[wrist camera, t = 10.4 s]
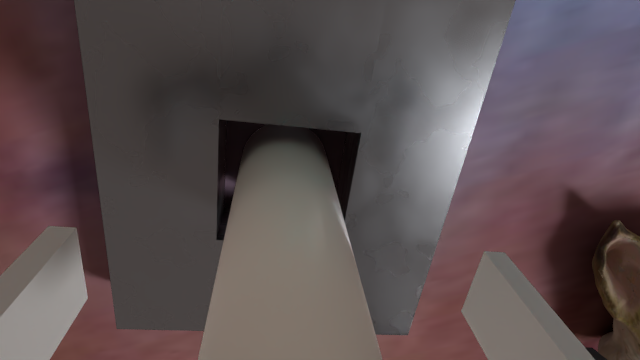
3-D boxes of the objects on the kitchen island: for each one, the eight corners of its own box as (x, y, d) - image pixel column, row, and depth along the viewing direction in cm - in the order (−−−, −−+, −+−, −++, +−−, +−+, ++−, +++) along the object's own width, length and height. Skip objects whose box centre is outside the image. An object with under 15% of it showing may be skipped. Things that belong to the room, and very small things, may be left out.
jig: (394, 298, 25) (407, 335, 23) (135, 288, 23) (116, 328, 20) (480, -5, 18) (516, -3, 15) (101, -64, 15) (64, -74, 13)
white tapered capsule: (320, 201, 22) (376, 497, 9) (239, 195, 21) (183, 504, 9) (331, 126, 20) (422, 370, 7) (243, 117, 19) (178, 368, 7)
